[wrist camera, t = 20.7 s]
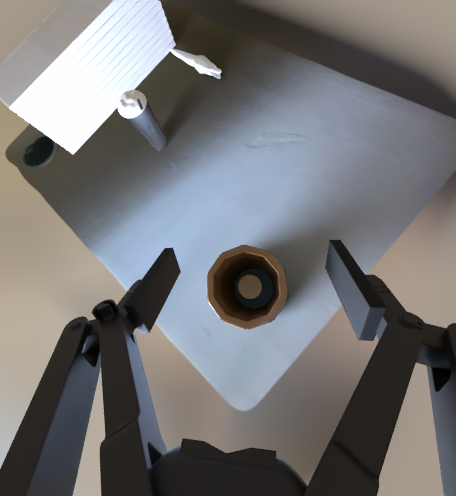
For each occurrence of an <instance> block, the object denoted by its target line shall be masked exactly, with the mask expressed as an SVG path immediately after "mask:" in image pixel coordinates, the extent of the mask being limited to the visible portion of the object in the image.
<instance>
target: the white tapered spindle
mask: <svg viewBox="0 0 456 496" xmlns="http://www.w3.org/2000/svg"><path fill="white" fill-rule="evenodd" d="M169 50H170V51H171V52H172V53H173V54H174V55H176V56H177V57H178V58H180V59H182V60H183V61H185V62H186V63H187V64H189V65H191V66H193V67H195V69H196V70H197V71H198V72H199V73H202V74H208V75H210V76H211V75H212V76H214V77H216V78H217V79H221V76H220V73H221V72H222V71H221V69H218V68H217V67H216V66H215V65H214V64H213V63H211V62H210V61H209V60H208V59H207V58H206V57H205V56H202V55H199V56H196V55H193V54H190V53H186V52H183V51H180V50H176V49H171V48H170V49H169Z"/></svg>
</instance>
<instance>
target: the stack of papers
mask: <svg viewBox="0 0 456 496" xmlns="http://www.w3.org/2000/svg"><path fill="white" fill-rule="evenodd" d="M161 7H162V5H161V2H160V1H159V0H63V1H62V2H61V3H60V4H59V5H58V6H57V7H56V8H55V9H54V10H53V11H52V12H51V13H50V14H49V15H48V16H47V17H46V18H45V19H44V20H43V21H42V22H41V23H40V24H39V25H38V26H37V27H36V28H35V29H34V30H33V31H32V32H31V33H30V34H29V35H28V36H27V37H26V38H25V39H24V40H23V41H22V42H21V43H20V44H19V45H18V46H17V47H16V48H15V49H14V50H13V51H12V52H11V53H10V54H9V55H8V56H7V57H6V58H5V59H4V60H3V61H2V62H1V63H0V100H1V101H2V102H3V103H4V104H5V105H6V106H7V107H8V108H9V109H11V110H12V111H14V112H15V113H17V114H18V115H19V116H20V117H22V118H24V119H25V120H26V121H27V122H29V123H30V124H32V125H33V126H34V127H36V128H37V129H38V130H40V131H41V132H43V133H44V134H45V135H47V136H48V137H50V138H51V139H52V140H54V141H55V142H56V143H58V144H59V145H61V146H62V147H64V148H65V149H66V150H68V151H69V152H70V153H72V154H74V153H75V152H76V151H77V150H78V149H79V148H80V147H81V146H82V145H83V144H84V143H85V141H86V140H87V139H88V138H89V137H90V136H91V135H92V134H93V133H94V132H95V131H96V130H97V129H98V128H99V127H100V125H101V124H102V123H103V122H104V121H105V120H106V119H107V118H108V117H109V116H110V115H111V114H112V113H113V112H114V111H115V109H116V108H117V107H118V103H119V99H120V97H121V96H122V95H123V93H124V92H126V91H129V90H134V89H135V88H136V87H137V86H138V85H139V84H140V83H141V82H142V81H143V80H144V79H145V77H146V76H147V75H148V74H149V73H150V72H151V71H152V70H153V69H154V68H155V67H156V66H157V65H158V64H159V63H160V61H161V60H162V59H163V58H164V57H165V56H166V55H167V54H168V53H169V52H170V50H169V49H170V48H171V49H173V48H174V47H175V45H176V44H175V41H174V40H173V39H174V38H173V36H172V34H171V30H170V28H169V25H168V22H166V21H167V19H166V16H165V15H164V14H165V13H164V11H163V8H161Z"/></svg>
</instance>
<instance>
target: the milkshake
mask: <svg viewBox="0 0 456 496" xmlns="http://www.w3.org/2000/svg"><path fill="white" fill-rule="evenodd" d="M118 111H119V113H120V114H121V115H122V116H123V117H124V118H125V119H126V120H127V121H128V122H129V123H130V124H131V125H132V126H133V127H134V129H135V130H136V131H137V132H138V133H139V134H140V135H141V136H142V137H143V138H144V139H145V141H146V142H147V143H148V144H149V145H150V146H151V147H152V148H153V149H155V150H162V149H163V148H164V147H166V144H167V138H166V136H165V134H164V132H163V130H162V128H161V127H160V125H159V123H158V121H157V119H156V117H155V115H154V113H153V111H152V109H151V107H150V105H149V103H148V101H147V99H146V97H145V95H144V94H142V93H141V92H139V91H136V90H129V91H126V92H124V93H123V95H122V96H121V97H120V99H119V103H118Z"/></svg>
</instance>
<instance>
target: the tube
mask: <svg viewBox="0 0 456 496" xmlns="http://www.w3.org/2000/svg"><path fill="white" fill-rule="evenodd" d="M250 269H256V270H260V271H263V272H265V273H266V274H267V275H268V277H269V278H270V279H271V280H272V281H273V296H272V297H271V299H270V301H269V302H268V304H267V305H265V306H262V307H259V308H257V309H253V308H250V307H247V306H244V305H242V304H241V302H240V301H239V299H238V298H237V297H236V295H235V282H236V280H237V279H238V277H239V276H240V274H241V273H242V272H245V271H248V270H250ZM286 297H288V291H287V280H286V271H285V269H284V268H283V267H282V266H281V265H280V263H279V262H278V261H277V260H276V259H275V258H274V257H273V255H272V254H271V253H270V252H269V251H267V250H264V249H260V248H256V247H252V246H248V245H241V246H239V247H236V248H233V249H231V250H228V251H226V252H223V253H222V254H220V256H219V257H218V258H217V260H216V261H215V263H214V264H213V266H212V267H211V269H210V270H209V272H208V274H207V299H208V302H209V303H210V305H211V306H212V308H213V309H214V310H215V312H216V313H217V315H218V316H219V318H220V319H221V320H223V322H225V323H228V324H231V325H234V326H237V327H240V328H243V329H245V330H247V329H248V330H249V329H252V328H255V327H258V326H261V325H264V324H267V323H270V322H272V320H274V319H275V318H276V316H277V315H278V313H279V312H280V310H281V308H282V307H283V305H284V304H285V302H286V300H287V298H286Z"/></svg>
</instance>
